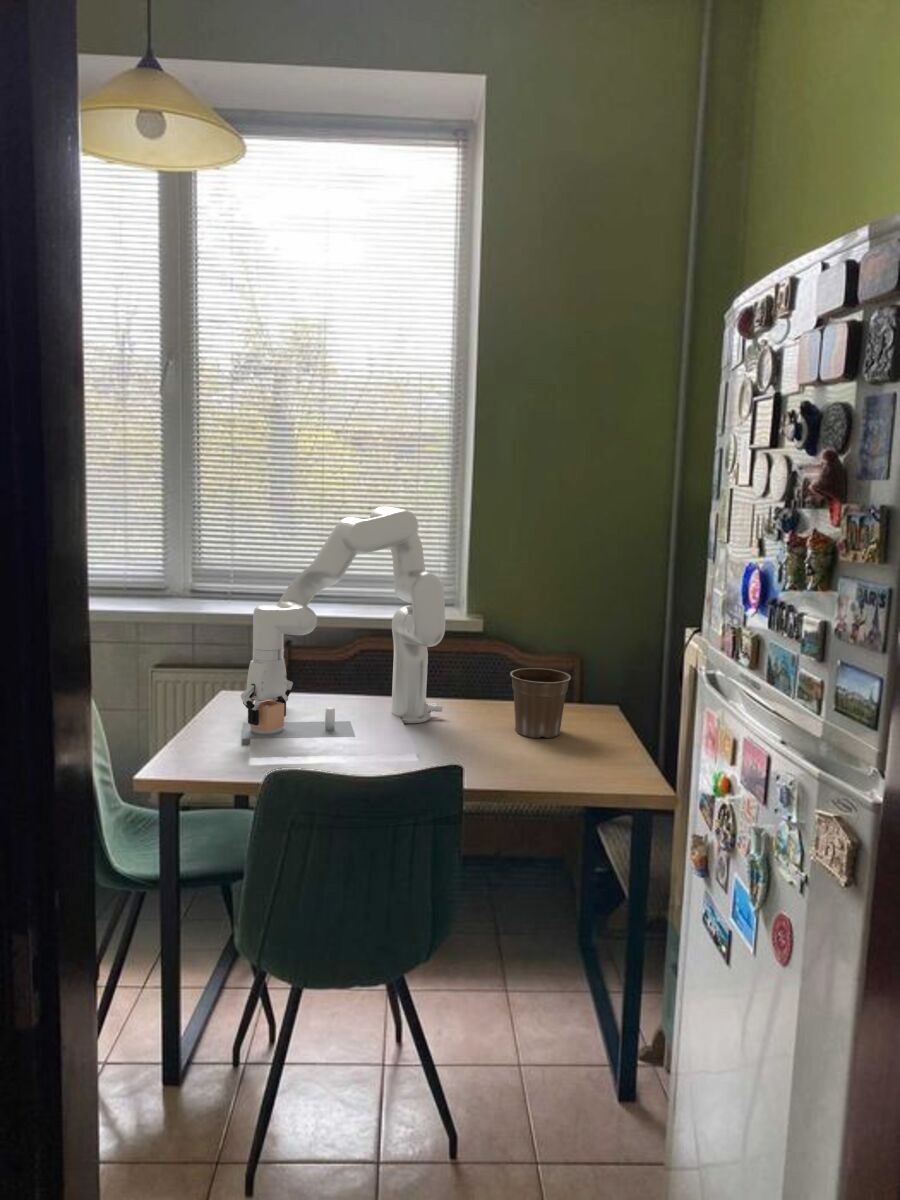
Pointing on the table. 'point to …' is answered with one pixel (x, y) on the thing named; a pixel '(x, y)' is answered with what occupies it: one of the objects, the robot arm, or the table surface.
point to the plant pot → (539, 701)
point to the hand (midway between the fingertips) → (267, 719)
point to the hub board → (302, 729)
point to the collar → (270, 715)
